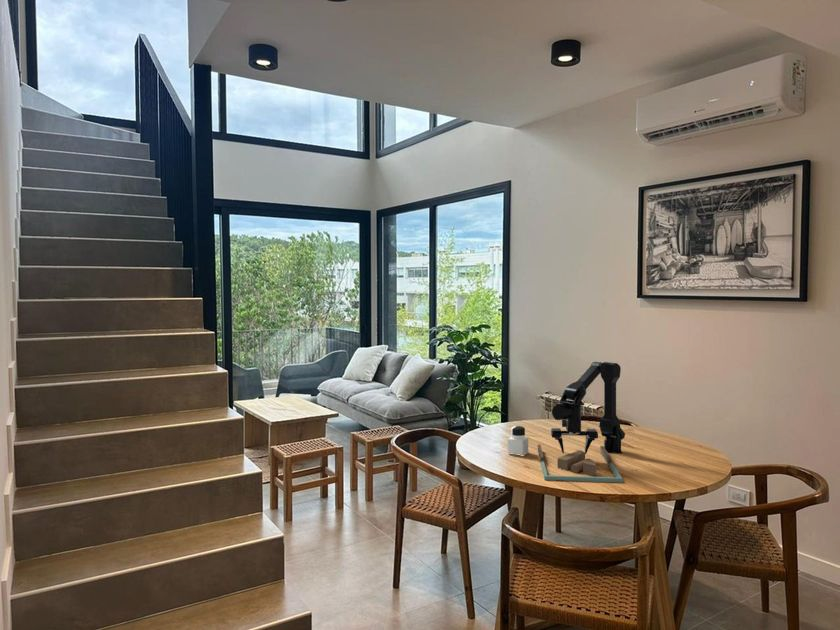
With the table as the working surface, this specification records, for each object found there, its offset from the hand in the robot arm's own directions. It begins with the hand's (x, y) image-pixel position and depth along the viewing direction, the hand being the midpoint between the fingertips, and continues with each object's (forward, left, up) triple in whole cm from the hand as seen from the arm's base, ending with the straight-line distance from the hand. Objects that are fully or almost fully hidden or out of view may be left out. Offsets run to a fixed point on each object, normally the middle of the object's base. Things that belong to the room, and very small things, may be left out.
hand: (574, 453), depth 239 cm
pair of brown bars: (0, -4, -3) cm, 5 cm away
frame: (0, +16, -3) cm, 16 cm away
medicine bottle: (+23, -9, -3) cm, 25 cm away
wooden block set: (-4, +9, -4) cm, 10 cm away
